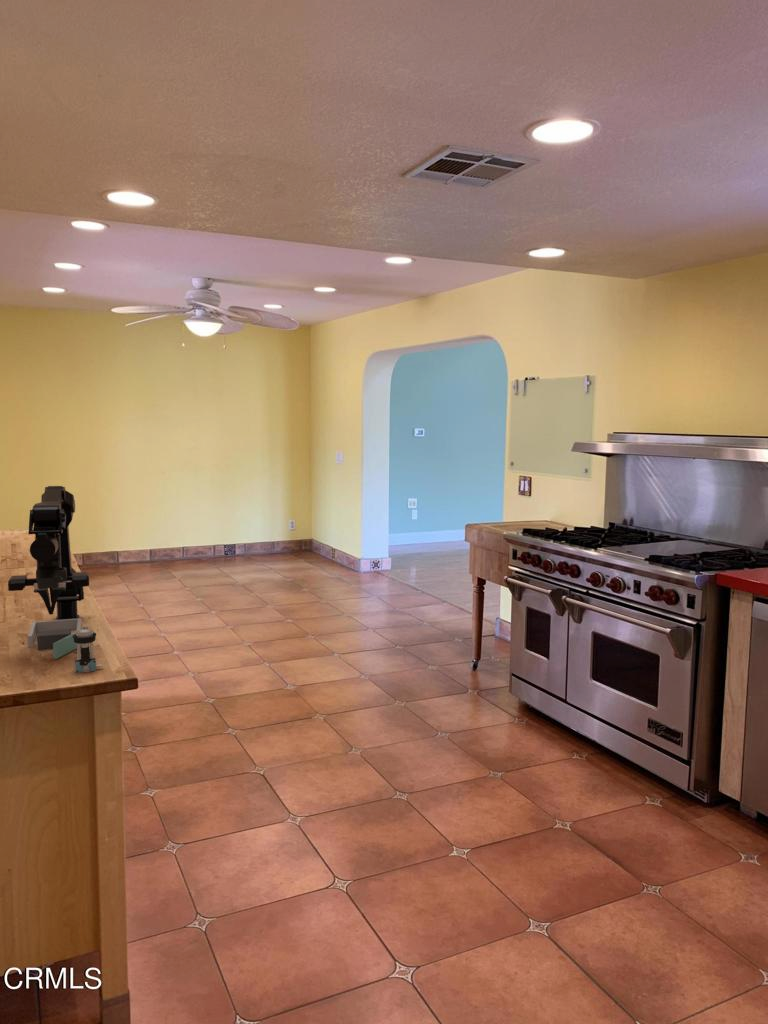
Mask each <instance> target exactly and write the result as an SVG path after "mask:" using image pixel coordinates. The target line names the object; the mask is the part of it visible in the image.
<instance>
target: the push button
mask: <svg viewBox="0 0 768 1024" xmlns="http://www.w3.org/2000/svg"><path fill="white" fill-rule="evenodd" d="M76 632H77V633H76V634H74V635H73V638H74V642H75V643H77V648H76V653H77V654H76V655H77V657H76V659H75V660H74V666H75V667H74V668H75V670H74V671H75V673H76V674H79V673H80V674H81V673H89V672H96V671H97V669H99V668H103V667H104V666H103V665H101V664H104V662H97V659H96V657H95V656H94V642H95V641H96V637H97V633H96V632H95V631H93V629H91V628H88V629H83V628H82V629H81V630H78V631H77V630H76ZM80 645H81V646H80ZM97 665H99V666H97Z"/></svg>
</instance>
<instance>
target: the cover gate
mask: <svg viewBox="0 0 768 1024" xmlns="http://www.w3.org/2000/svg"><path fill="white" fill-rule="evenodd" d="M76 633H77V631H75V632H73V633H71V635H69V636H67V637H65V638H63V639H61V640H59V641H57V642H55V643H53V649H52V652H53V653H52V654H53V659H54V660H55V659H56V660H57V659H59V658H61V657H63V656H65V655H67V654H68V653H71V652H72V651H74V650H77V643H75V642H74V638H73V635H74V634H76ZM80 647H81V645H80Z"/></svg>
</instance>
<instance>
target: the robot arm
mask: <svg viewBox="0 0 768 1024" xmlns="http://www.w3.org/2000/svg"><path fill="white" fill-rule="evenodd" d="M40 498H41V501H40V502H37V503H35V504H34V505H33V506H32V509H30V510H29V515H28V516H29V518H28V519H29V520H28V535H35V537H34V540H33V542H32V543H31V544H30V546H29V554H30V555H31V557H32V558H33V559H34V560H36V571H35V577H31V578H28V575H27V574H26V575H25V574H22V575H12V576H11V577H10V578H9V580H8V582H7V591H9V592H15V591H23V590H24V589H25V588H26V587H33V593H35V594H36V593H38V594H39V596H40V597H41V599H42V601H43V603H44V604H45V607H46V610H47V612H48V615H50V616H51V615H54V612H55V608H56V616H55V620H64V619H78V618H80V615H79V614H78V602H81V601H83V600H85V592H84V587H89V586H90V574H89V572H87V571H78V572H77V571H76V570H75V569H74V567H72V556H71V542H70V528H69V525H70V524H71V523H72V521H73V518H74V517H73V516H74V513H76V503H75V502H76V501H75V496H74V494H73V493H71V492H69V491H67V490H66V487H65V486H63V485H47V486H45V488H44V492H43V493H42V494H41V497H40Z"/></svg>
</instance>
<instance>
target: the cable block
mask: <svg viewBox="0 0 768 1024" xmlns="http://www.w3.org/2000/svg"><path fill="white" fill-rule="evenodd" d="M71 631H72V630H71V629H62V630H49V631H38V633H37V634H36V644H37V645H36V646H37V651H45V650H46V649H48V650H53V643H55V642H57V641H59V640H61V639H63V638H65V637H67V636H69V635H71V634H72V632H71Z"/></svg>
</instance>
